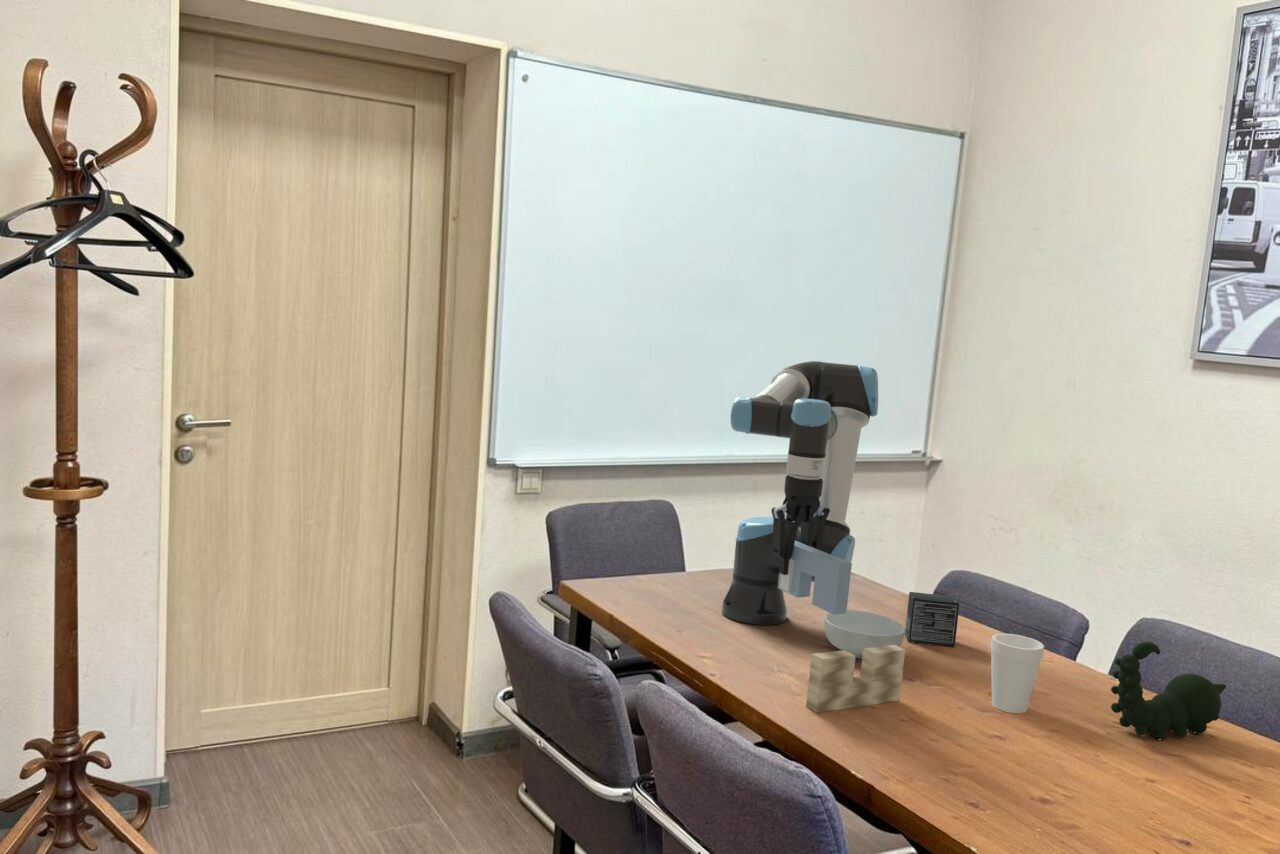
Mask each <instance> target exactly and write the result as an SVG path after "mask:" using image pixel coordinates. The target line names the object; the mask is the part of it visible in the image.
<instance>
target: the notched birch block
mask: <svg viewBox="0 0 1280 854" xmlns="http://www.w3.org/2000/svg"><path fill="white" fill-rule="evenodd" d="M855 657H856V656H855V655H853V654H851V653H849V652H847V651H845V650H843V651H842V650H837V651H836V650H834V651H825V652H816V653H811V660H810V670H809V679H808V689H807V696H806V703H805V704H806V705H805V706H806V708H808V709H810V710H811V711H813V712H815V713H818V714H819V713H825V712H832V711H839V710H845V709H851V708H858V707H865V706H874V705H879V704H880V705H881V704H885V703H892V702H900V697H901V690H902V689H901V688H902V682H903V681H902V680H903V673H904V665H905V657H906V649H904V648H903V647H901V646H900V647H898V646H896V645H889V646H880V647H870V648H863V656H862V659H861V667H860V673H859V674H860V675H859V676H854V672H855V665H856V658H855Z"/></svg>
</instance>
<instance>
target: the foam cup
mask: <svg viewBox="0 0 1280 854" xmlns="http://www.w3.org/2000/svg"><path fill="white" fill-rule="evenodd" d="M989 649H990V652H991V654H990V655H991V657H990V659H991V663H990V664H991V671H990V672H991V675H990V676H991V705H992V706H993V707H994V708H995V707H996V708H995V709H997V708H998V709H997V710H999V709H1001V710H1000V711H1002V710H1003V712H1005V711H1008V712H1007V713H1010V712H1012V713H1011V714H1023V713H1022V712H1024V713H1026V712H1027V711H1028V710H1027V709H1028V707H1029V704H1030V703H1029V702H1030V700H1031V696H1032V692H1033V689H1034V686H1035V682H1036V679H1037V675H1038V672H1039V668H1040V665H1041V662H1042V659H1043V658H1044V657H1043V656H1044V650H1045V645H1044V644H1043V642H1041V641H1039V640H1036V639H1035V638H1031V637H1028V636H1024V635H1019V634H1013V633H996V634H995V633H994V634H993V635H992V636H991V640H990V648H989ZM1025 711H1026V712H1025Z"/></svg>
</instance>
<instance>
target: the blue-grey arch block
mask: <svg viewBox="0 0 1280 854" xmlns="http://www.w3.org/2000/svg"><path fill="white" fill-rule="evenodd" d="M791 559H792V560H794V566H793V575H792V585H791V592H787V591H785V590H783V589H781V588H780V581H781V573H780V572H779V581H778V588H779V589H781V590H783V592H785V593H787V594H789V595H792V596H794V597H796V598H808V597H810V596H811V589H812V581H811V580H812V576H813V577H815V581H814V582H813V591H812V592H813V593H812V599H811V600H812V601H811V605H813V606H815V607H817V608H818V609H821V610H824V611H825V612H827V613H832V614H834V615H836V614H846V611H847V609H848V601H849V600H848V599H849V592H850V583H851V574H852V566H853V565H852V564H853V562H852V561H851V562H848V561H845V560H843V559H840V558H838V557H835V556H833V555H830V554H828V553H825V552H823V551H820V550H818V549H815V548H813V547H810V546H808V545H805V544H803V543H800V542H798V541H795V543H794V547H793V552H792V556H791Z"/></svg>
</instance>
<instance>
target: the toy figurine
mask: <svg viewBox="0 0 1280 854" xmlns="http://www.w3.org/2000/svg"><path fill="white" fill-rule="evenodd" d="M1131 651H1132V652H1131V654H1124V655H1123V656H1121V657H1120V658H1116V659H1115V660H1114V663H1115V664H1116V666H1118V667H1119V669H1118V670H1114V671H1113V672H1112V676H1113V678H1114V679H1116V680H1118V682H1119V683H1118V684H1117V685H1113V686H1111V688H1110V691H1111V692H1112V693H1113V694H1114V695H1117V696H1118V697H1119V698H1118V701H1117V702H1114V703H1112V704H1111V706H1110V709H1111V711H1112V712H1114V713H1115V714H1118V713H1121V714H1122V715H1121V717H1119V719H1118V720H1119V721H1118V722H1119V724H1120V726H1121V727H1123V728H1128V727H1133V728H1134V732H1135V733H1136V734H1137V735H1138V736H1141V737H1142V736H1145V735H1147V734H1149V735H1153V736H1154V738H1155V739H1157V740H1158V739H1161V740H1160V741H1165V740H1166V738H1167V737H1168V736H1167V735H1168V734H1167V731H1171V732H1172V734H1173V735H1174V736H1175V737H1177V738H1185V737H1186V736H1187V734H1188V730H1189V732H1190V731H1192V732H1196V733H1195V734H1197V733H1201V734H1203V733H1205V732H1206V730H1207V728H1208V727H1207V726H1208V725H1207V724H1210V723H1212V722H1215V721H1218V719H1219V718H1220V715H1219V714H1220V711H1221V708H1222V699H1221V694H1222V693H1223V692H1224V691H1225V689H1226V688H1227V685H1226V684H1223V683H1213V682H1212V681H1210V680H1209V679H1208V678H1206V677H1204V676H1202V675H1200V674H1196V673H1184V674H1180V675H1178V676H1175V677H1174V678H1172V679H1171V680H1169V682H1168V683H1167V685H1166V686H1165V688H1164V691H1163V692H1160V693H1158V694H1156V695H1154V697H1152V699H1147V700H1146V699H1145V698H1144V697H1143V693H1144V689H1143V687H1142V685H1141V681H1142V674H1141V672H1140V671H1139V670H1140V668H1141V665H1140V664H1141V663H1140V660H1143V659H1146V658H1147V657H1148V656H1149V655H1151V654H1152V653H1155V655H1160V654H1161V649H1160V648H1159V646H1158V645H1156V644H1155V643H1154V642H1150V641H1144V642H1142V641H1141V642H1140V643H1138V644H1136V645H1135V646H1134V647H1133V648H1132V650H1131ZM1187 729H1188V730H1187ZM1192 732H1191V733H1192ZM1164 739H1165V740H1164Z"/></svg>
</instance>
